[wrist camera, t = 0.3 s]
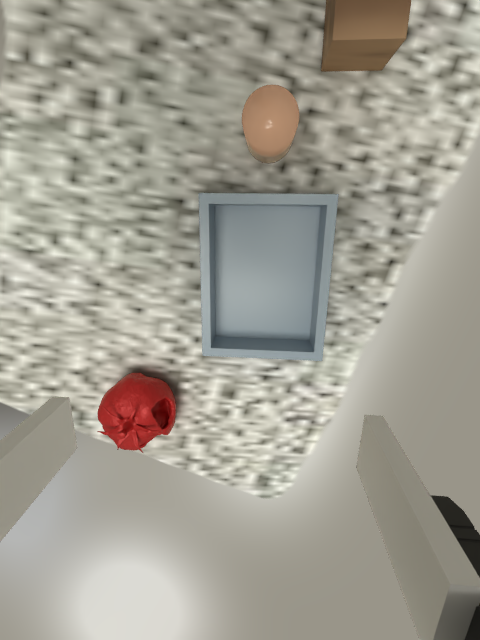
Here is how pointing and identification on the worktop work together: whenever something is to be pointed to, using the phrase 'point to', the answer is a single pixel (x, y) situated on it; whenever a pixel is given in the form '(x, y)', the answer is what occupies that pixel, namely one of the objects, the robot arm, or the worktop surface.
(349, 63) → the walnut cube
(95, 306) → the worktop surface
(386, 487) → the robot arm
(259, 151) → the terracotta cylinder
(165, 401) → the pomegranate
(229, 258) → the tote
